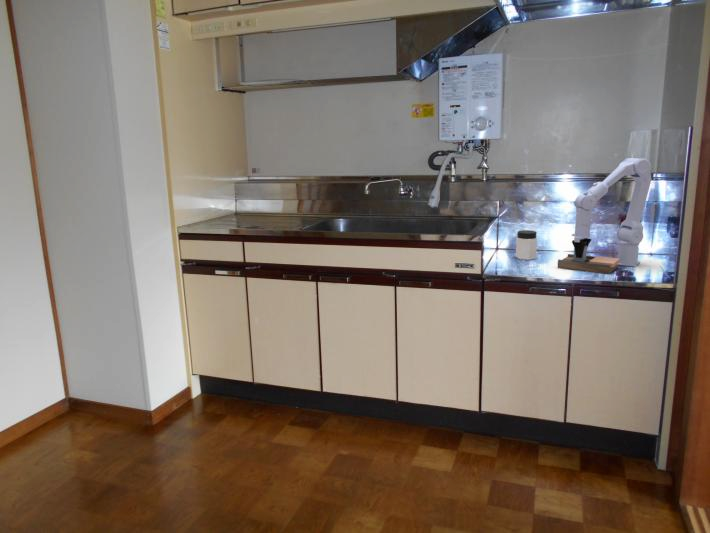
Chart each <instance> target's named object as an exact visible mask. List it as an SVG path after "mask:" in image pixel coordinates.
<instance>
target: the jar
mask: <svg viewBox="0 0 710 533" xmlns="http://www.w3.org/2000/svg"><path fill="white" fill-rule="evenodd" d="M515 240H516V242H515V258H516V259H518V260H524V261H525V260H526V261H531V260H536V259H537V248H538V237H537V231H535V230H529V229H528V230H527V229H523V230H518V231H517V235H516V239H515Z"/></svg>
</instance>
